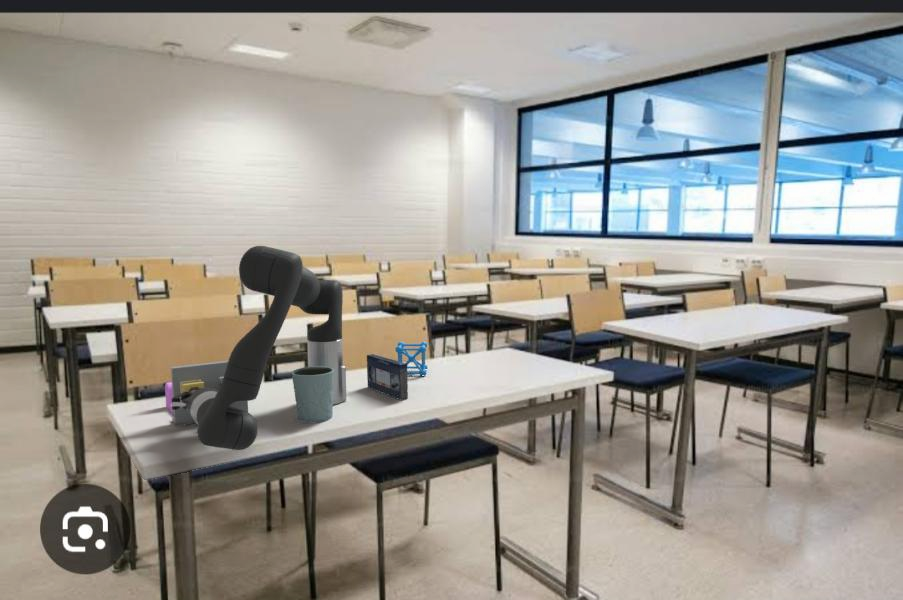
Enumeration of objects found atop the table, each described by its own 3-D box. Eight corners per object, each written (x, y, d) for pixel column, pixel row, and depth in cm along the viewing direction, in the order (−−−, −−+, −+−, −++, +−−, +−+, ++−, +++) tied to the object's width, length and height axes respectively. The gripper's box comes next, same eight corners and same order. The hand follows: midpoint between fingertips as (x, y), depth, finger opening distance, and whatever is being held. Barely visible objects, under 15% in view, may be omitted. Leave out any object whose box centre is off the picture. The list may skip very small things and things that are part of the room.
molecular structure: (426, 377, 191) (426, 346, 190) (395, 377, 191) (394, 346, 190) (427, 370, 201) (427, 340, 200) (398, 370, 201) (397, 340, 200)
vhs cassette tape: (366, 387, 178) (366, 354, 177) (375, 385, 180) (375, 353, 179) (399, 400, 164) (398, 365, 162) (408, 399, 165) (407, 363, 164)
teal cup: (342, 417, 148) (341, 370, 147) (306, 426, 141) (305, 377, 140) (321, 409, 155) (320, 364, 154) (285, 417, 149) (284, 370, 147)
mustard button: (199, 395, 148) (198, 377, 147) (204, 401, 143) (203, 382, 142) (179, 398, 145) (178, 379, 145) (184, 404, 140) (182, 385, 140)
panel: (243, 409, 155) (240, 356, 154) (248, 414, 151) (246, 360, 150) (172, 420, 146) (169, 364, 145) (175, 426, 142) (172, 368, 140)
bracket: (166, 407, 158) (164, 381, 158) (188, 403, 162) (186, 378, 161) (180, 418, 148) (178, 391, 148) (203, 414, 152) (201, 387, 151)
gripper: (240, 387, 130) (222, 372, 144) (175, 396, 123) (162, 379, 137) (242, 420, 131) (223, 402, 145) (176, 431, 123) (164, 411, 138)
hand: (194, 391), depth 141 cm, fingers closed
